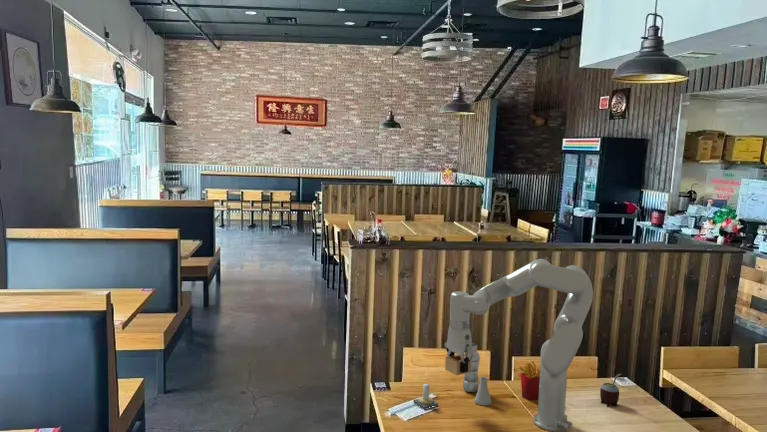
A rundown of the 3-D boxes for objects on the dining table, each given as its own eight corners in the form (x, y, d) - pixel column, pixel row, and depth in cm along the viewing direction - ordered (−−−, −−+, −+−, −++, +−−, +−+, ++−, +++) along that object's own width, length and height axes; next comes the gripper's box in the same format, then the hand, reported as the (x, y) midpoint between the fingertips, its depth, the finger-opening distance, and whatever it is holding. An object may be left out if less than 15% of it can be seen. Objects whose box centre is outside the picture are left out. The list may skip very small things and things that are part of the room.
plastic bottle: (459, 389, 225) (461, 343, 223) (472, 387, 228) (474, 341, 226) (468, 395, 219) (470, 348, 217) (481, 392, 222) (483, 346, 220)
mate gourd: (601, 399, 219) (603, 364, 218) (621, 404, 215) (624, 368, 214) (598, 405, 212) (600, 369, 211) (619, 410, 208) (621, 373, 207)
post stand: (438, 406, 207) (438, 386, 207) (423, 409, 204) (424, 389, 203) (427, 399, 213) (428, 380, 213) (413, 402, 210) (414, 383, 209)
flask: (492, 407, 208) (493, 382, 207) (473, 405, 210) (474, 380, 209) (491, 399, 215) (493, 376, 214) (474, 397, 217) (475, 374, 216)
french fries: (542, 400, 216) (544, 364, 215) (525, 403, 213) (527, 366, 212) (528, 391, 224) (530, 357, 223) (512, 394, 221) (514, 359, 220)
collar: (470, 372, 203) (471, 359, 202) (456, 375, 199) (456, 362, 199) (459, 366, 209) (459, 354, 208) (445, 369, 205) (445, 356, 205)
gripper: (482, 328, 197) (480, 374, 198) (452, 317, 212) (451, 360, 213) (466, 331, 193) (464, 378, 195) (437, 319, 208) (436, 363, 209)
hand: (457, 368), depth 204 cm, fingers closed on collar, 7 cm apart
